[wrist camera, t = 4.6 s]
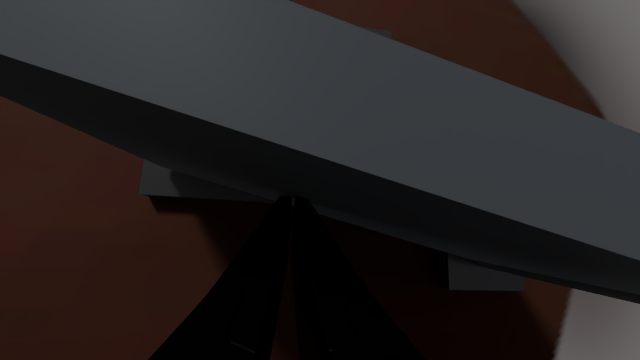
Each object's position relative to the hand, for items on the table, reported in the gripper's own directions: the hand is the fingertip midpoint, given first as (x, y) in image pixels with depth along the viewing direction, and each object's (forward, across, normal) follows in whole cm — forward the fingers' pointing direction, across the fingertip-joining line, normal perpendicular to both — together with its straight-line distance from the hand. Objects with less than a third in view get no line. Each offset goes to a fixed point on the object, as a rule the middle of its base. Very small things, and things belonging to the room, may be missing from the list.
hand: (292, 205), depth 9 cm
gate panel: (+4, -3, +3) cm, 6 cm away
